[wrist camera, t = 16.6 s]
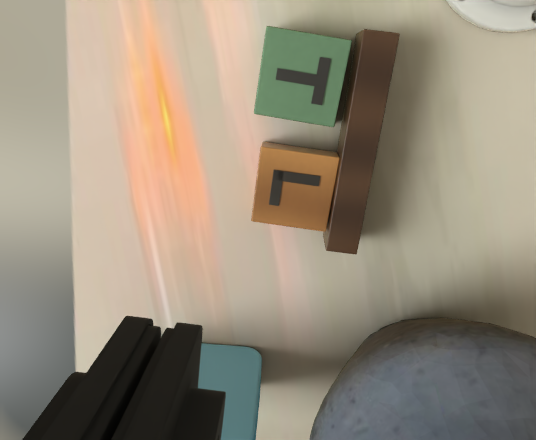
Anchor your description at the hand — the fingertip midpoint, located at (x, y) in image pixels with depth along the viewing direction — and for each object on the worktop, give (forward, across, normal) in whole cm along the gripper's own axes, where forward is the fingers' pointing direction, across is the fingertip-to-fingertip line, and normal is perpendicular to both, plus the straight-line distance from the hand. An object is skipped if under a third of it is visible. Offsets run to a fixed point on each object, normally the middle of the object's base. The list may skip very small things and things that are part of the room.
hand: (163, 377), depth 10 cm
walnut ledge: (+27, -8, -2) cm, 28 cm away
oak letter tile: (+27, -3, +2) cm, 27 cm away
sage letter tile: (+27, -3, -7) cm, 28 cm away
